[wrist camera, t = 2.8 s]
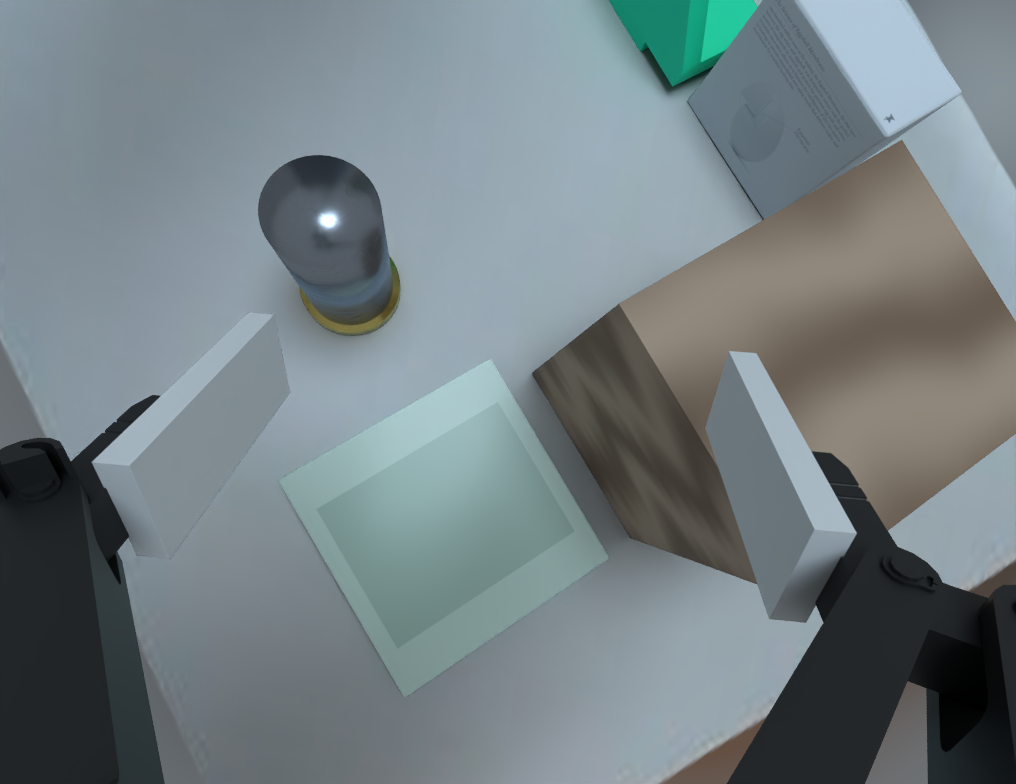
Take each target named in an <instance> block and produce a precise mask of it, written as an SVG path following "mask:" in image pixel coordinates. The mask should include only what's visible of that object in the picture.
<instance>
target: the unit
mask: <svg viewBox="0 0 1016 784" xmlns="http://www.w3.org/2000/svg"><path fill="white" fill-rule="evenodd" d="M729 351H735V352H748V353H757V355H758V357H759V359H760V361H761V362H762V364H763V366H764V368H765V370H766V371H767V373H768V375H769V377H770V379H771V380H772V382H773V384H774V386H775V388H776V389H777V391H778V393H779V395H780V396H781V398H782V400H783V402H784V404H785V405H786V407H787V409H788V411H789V413H790V414H791V416H792V418H793V420H794V422H795V423H796V425H797V427H798V429H799V431H800V432H801V434H802V436H803V438H804V439H805V441H806V443H807V445H808V447H809V448H810V450H811V451H815V452H826V453H832V454H833V455H834V456H835V457H836V458H837V459H839V460H840V461H841V462H842V463H843V464H844V465H846V466H847V467H848V468H849V469H850V471H851V473H852V474H853V476H854V477H855V479H856V481H857V482H858V484H859V488H861V489H862V490H863V492H864V494H865V495H866V497H867V501H869V502H870V503H871V505H872V506H873V508H874V510H875V511H876V513H877V515H878V516H879V518H880V519H881V521H882V523H883V524H884V526H885V527H886V529H887V531H888V530H889V529H891V528H892V527H893V526H895V525H896V524H897V523H899V522H900V521H901V520H902V519H904V518H905V517H906V516H908V515H909V514H910V513H912V512H913V511H914V510H916V509H917V508H918V507H920V506H921V505H922V504H924V503H925V502H926V501H927V500H929V499H930V498H931V497H933V496H934V495H935V494H937V493H938V492H939V491H941V490H942V489H943V488H945V487H946V486H947V485H949V484H950V483H951V482H953V481H954V480H955V479H956V478H958V477H959V476H960V475H962V474H963V473H964V472H966V471H967V470H968V469H970V468H971V467H972V466H974V465H975V464H976V463H978V462H979V461H980V460H982V459H983V458H984V457H985V456H987V455H988V454H989V453H991V452H992V451H993V450H995V449H996V448H997V447H999V446H1000V445H1001V444H1003V443H1004V442H1005V441H1007V440H1008V439H1009V438H1010V437H1012V436H1013V435H1014V434H1016V321H1015V320H1014V318H1013V317H1012V315H1011V314H1010V312H1009V310H1008V309H1007V307H1006V306H1005V304H1004V302H1003V301H1002V299H1001V298H1000V296H999V294H998V293H997V291H996V290H995V288H994V286H993V285H992V283H991V282H990V280H989V278H988V277H987V275H986V274H985V272H984V270H983V269H982V267H981V266H980V264H979V262H978V261H977V259H976V258H975V256H974V254H973V253H972V251H971V250H970V248H969V246H968V245H967V243H966V242H965V240H964V238H963V237H962V235H961V234H960V232H959V230H958V229H957V227H956V226H955V224H954V222H953V221H952V219H951V218H950V216H949V214H948V213H947V211H946V210H945V208H944V206H943V205H942V203H941V202H940V200H939V198H938V197H937V195H936V194H935V192H934V190H933V189H932V187H931V186H930V184H929V182H928V181H927V179H926V178H925V176H924V174H923V173H922V171H921V170H920V168H919V166H918V165H917V163H916V162H915V160H914V158H913V157H912V155H911V154H910V152H909V151H908V149H907V147H906V146H905V144H904V143H903V141H902V140H901V141H899V142H897V143H896V144H894V145H892V146H891V147H889V148H887V149H885V150H884V151H882V152H880V153H878V154H877V155H875V156H873V157H872V158H870V159H868V160H866V161H865V162H863V163H861V164H859V165H858V166H856V167H854V168H853V169H851V170H849V171H847V172H846V173H844V174H842V175H840V176H839V177H837V178H835V179H834V180H832V181H830V182H828V183H827V184H825V185H823V186H821V187H820V188H818V189H816V190H815V191H813V192H811V193H809V194H808V195H806V196H804V197H802V198H801V199H799V200H797V201H796V202H794V203H792V204H790V205H789V206H787V207H785V208H783V209H782V210H780V211H778V212H777V213H775V214H773V215H771V216H770V217H768V218H766V219H764V220H763V221H761V222H759V223H758V224H756V225H754V226H752V227H751V228H749V229H747V230H745V231H744V232H742V233H740V234H739V235H737V236H735V237H733V238H732V239H730V240H728V241H727V242H725V243H723V244H721V245H720V246H718V247H716V248H714V249H713V250H711V251H709V252H708V253H706V254H704V255H702V256H701V257H699V258H697V259H695V260H694V261H692V262H690V263H689V264H687V265H685V266H683V267H682V268H680V269H678V270H676V271H675V272H673V273H671V274H670V275H668V276H666V277H664V278H663V279H661V280H659V281H657V282H656V283H654V284H652V285H651V286H649V287H647V288H645V289H644V290H642V291H640V292H638V293H637V294H635V295H633V296H632V297H630V298H628V299H626V300H625V301H623V302H621V303H619V304H618V305H617V306H616V307H614V308H613V309H612V310H611V311H609V312H608V313H607V314H606V315H604V316H603V317H602V318H600V319H599V320H598V321H597V322H595V323H594V324H593V325H592V326H590V327H589V328H588V329H587V330H585V331H584V332H583V333H582V334H580V335H579V336H578V337H577V338H575V339H574V340H573V341H572V342H570V343H569V344H568V345H567V346H565V347H564V348H563V349H562V350H560V351H559V352H558V353H556V354H555V355H554V356H553V357H551V358H550V359H549V360H548V361H546V362H545V363H544V364H543V365H541V366H540V367H539V368H538V369H536V370H535V371H534V372H533V373H532V374H533V376H534V377H535V379H536V381H537V382H538V384H539V386H540V387H541V389H542V391H543V392H544V394H545V396H546V397H547V399H548V401H549V402H550V404H551V406H552V407H553V409H554V411H555V413H556V414H557V416H558V418H559V419H560V421H561V423H562V424H563V426H564V428H565V429H566V431H567V433H568V434H569V436H570V438H571V439H572V441H573V443H574V444H575V446H576V448H577V449H578V451H579V453H580V454H581V456H582V458H583V459H584V461H585V463H586V464H587V466H588V468H589V469H590V471H591V473H592V474H593V476H594V478H595V479H596V481H597V483H598V484H599V486H600V488H601V489H602V491H603V493H604V495H605V496H606V498H607V500H608V501H609V503H610V505H611V506H612V508H613V510H614V511H615V513H616V515H617V516H618V518H619V520H620V521H621V523H622V525H623V526H624V528H625V530H626V531H627V533H628V535H629V536H630V538H632V539H635V540H638V541H641V542H643V543H646V544H649V545H652V546H654V547H657V548H660V549H662V550H665V551H668V552H671V553H673V554H676V555H679V556H682V557H684V558H687V559H690V560H692V561H695V562H698V563H701V564H703V565H706V566H709V567H711V568H714V569H717V570H720V571H722V572H725V573H728V574H731V575H733V576H736V577H739V578H741V579H744V580H747V581H750V582H752V583H755V584H757V581H756V578H755V575H754V572H753V569H752V566H751V563H750V560H749V557H748V554H747V551H746V548H745V545H744V542H743V539H742V536H741V533H740V530H739V527H738V525H737V522H736V519H735V516H734V513H733V510H732V507H731V504H730V501H729V498H728V495H727V492H726V489H725V486H724V483H723V480H722V477H721V474H720V471H719V468H718V465H717V462H716V459H715V456H714V453H713V450H712V447H711V444H710V441H709V438H708V435H707V432H706V429H705V427H706V424H707V421H708V417H709V414H710V411H711V408H712V404H713V401H714V398H715V395H716V391H717V388H718V385H719V381H720V378H721V375H722V372H723V368H724V365H725V362H726V358H727V355H728V352H729Z"/></svg>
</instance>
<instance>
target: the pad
mask: <svg viewBox="0 0 1016 784" xmlns="http://www.w3.org/2000/svg"><path fill="white" fill-rule="evenodd" d="M278 481H279V483H280V485H281V486H282V488H283V490H284V492H285V493H286V495H287V497H288V498H289V500H290V502H291V504H292V505H293V507H294V509H295V510H296V512H297V514H298V516H299V517H300V519H301V521H302V523H303V524H304V526H305V528H306V529H307V531H308V533H309V535H310V536H311V538H312V540H313V542H314V543H315V545H316V547H317V548H318V550H319V552H320V554H321V555H322V557H323V559H324V560H325V562H326V564H327V566H328V567H329V569H330V571H331V573H332V574H333V576H334V578H335V579H336V581H337V583H338V585H339V586H340V588H341V590H342V591H343V593H344V595H345V597H346V598H347V600H348V602H349V604H350V605H351V607H352V609H353V610H354V612H355V614H356V616H357V617H358V619H359V621H360V622H361V624H362V626H363V628H364V629H365V631H366V633H367V635H368V636H369V638H370V640H371V641H372V643H373V645H374V647H375V648H376V650H377V652H378V654H379V655H380V657H381V659H382V660H383V662H384V664H385V666H386V667H387V669H388V671H389V672H390V674H391V676H392V678H393V679H394V681H395V683H396V685H397V686H398V688H399V690H400V691H401V693H402V695H403V697H404V698H405V697H407V696H408V695H410V694H411V693H413V692H414V691H416V690H417V689H419V688H420V687H422V686H423V685H424V684H426V683H427V682H429V681H430V680H432V679H433V678H435V677H436V676H438V675H439V674H441V673H442V672H444V671H445V670H446V669H448V668H449V667H451V666H452V665H454V664H455V663H457V662H458V661H460V660H461V659H463V658H464V657H465V656H467V655H468V654H470V653H471V652H473V651H474V650H476V649H477V648H479V647H480V646H482V645H483V644H485V643H486V642H487V641H489V640H490V639H492V638H493V637H495V636H496V635H498V634H499V633H501V632H502V631H504V630H505V629H506V628H508V627H509V626H511V625H512V624H514V623H515V622H517V621H518V620H520V619H521V618H523V617H524V616H526V615H527V614H528V613H530V612H531V611H533V610H534V609H536V608H537V607H539V606H540V605H542V604H543V603H545V602H546V601H548V600H549V599H550V598H552V597H553V596H555V595H556V594H558V593H559V592H561V591H562V590H564V589H565V588H567V587H568V586H569V585H571V584H572V583H574V582H575V581H577V580H578V579H580V578H581V577H583V576H584V575H586V574H587V573H589V572H590V571H591V570H593V569H594V568H596V567H597V566H599V565H600V564H602V563H603V562H605V561H606V560H608V559H609V556H608V555H607V553H606V551H605V550H604V548H603V546H602V545H601V543H600V541H599V540H598V538H597V536H596V534H595V533H594V531H593V529H592V528H591V526H590V524H589V523H588V521H587V519H586V518H585V516H584V514H583V513H582V511H581V509H580V508H579V506H578V504H577V503H576V501H575V499H574V498H573V496H572V494H571V493H570V491H569V489H568V488H567V486H566V484H565V482H564V481H563V479H562V477H561V476H560V474H559V472H558V471H557V469H556V467H555V466H554V464H553V462H552V461H551V459H550V457H549V456H548V454H547V452H546V451H545V449H544V447H543V446H542V444H541V442H540V441H539V439H538V437H537V435H536V434H535V432H534V430H533V429H532V427H531V425H530V424H529V422H528V420H527V419H526V417H525V415H524V414H523V412H522V410H521V409H520V407H519V405H518V404H517V402H516V400H515V399H514V397H513V395H512V394H511V392H510V390H509V388H508V387H507V385H506V383H505V382H504V380H503V378H502V377H501V375H500V373H499V372H498V370H497V368H496V367H495V365H494V363H493V362H492V360H491V359H489V360H487V361H485V362H484V363H482V364H480V365H478V366H477V367H475V368H473V369H471V370H470V371H468V372H466V373H464V374H463V375H461V376H459V377H457V378H456V379H454V380H452V381H450V382H449V383H447V384H445V385H443V386H442V387H440V388H438V389H436V390H435V391H433V392H431V393H429V394H428V395H426V396H424V397H422V398H421V399H419V400H417V401H415V402H414V403H412V404H410V405H408V406H407V407H405V408H403V409H401V410H400V411H398V412H396V413H394V414H393V415H391V416H389V417H387V418H386V419H384V420H382V421H380V422H379V423H377V424H375V425H373V426H372V427H370V428H368V429H366V430H365V431H363V432H361V433H359V434H358V435H356V436H354V437H352V438H351V439H349V440H347V441H345V442H344V443H342V444H340V445H338V446H337V447H335V448H333V449H331V450H330V451H328V452H326V453H324V454H323V455H321V456H319V457H317V458H316V459H314V460H312V461H310V462H309V463H307V464H305V465H303V466H302V467H300V468H298V469H296V470H295V471H293V472H291V473H289V474H288V475H286V476H284V477H282V478H281V479H279V480H278Z"/></svg>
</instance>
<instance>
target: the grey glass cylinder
mask: <svg viewBox="0 0 1016 784" xmlns="http://www.w3.org/2000/svg"><path fill="white" fill-rule="evenodd" d="M258 215H259V221H260V225H261V228H262V231H263V233H264V235H265V237H266V239H267V240H268V242H269V243H270V245H271V246H272V247H273V249H274V250H275V252H276V253H277V255H278V256H279V257H280V259H281V260H282V262H283V263H284V265H285V266H286V268H287V269H288V270H289V272H290V273H291V275H292V276H293V278H294V279H295V280H296V282H297V283H298V285H299V286H300V293H301V297H302V300H303V303H304V305H305V307H306V308H307V310H308V311H309V313H310V314H311V315H312V317H313V318H314V319H315V320H316V321H317V322H318V323H319V324H320V325H322V326H323V327H325V328H326V329H328V330H330V331H332V332H335V333H338V334H342V335H350V336H355V335H363V334H367V333H370V332H372V331H375V330H377V329H378V328H380V327H381V326H383V325H384V324H385V323H386V322H387V321H388V320H389V319H390V318H391V317H392V315H393V314H394V312H395V310H396V308H397V306H398V303H399V299H400V291H401V290H400V279H399V275H398V271H397V268H396V266H395V264H394V262H393V261H392V259H391V258H390V256H389V253H388V247H387V241H386V234H385V228H384V222H383V215H382V209H381V204H380V199H379V196H378V193H377V191H376V189H375V187H374V185H373V184H372V183H371V181H370V180H369V179H368V177H367V176H366V175H365V174H364V173H363V172H362V171H360V170H359V169H358V168H357V167H355V166H354V165H352V164H350V163H348V162H346V161H344V160H341V159H339V158H335V157H331V156H324V155H313V156H305V157H301V158H298V159H295V160H292V161H290V162H288V163H286V164H285V165H283V166H282V167H280V168H279V169H278V170H277V171H276V172H274V173H273V174H272V176H271V177H270V178H269V179H268V181H267V182H266V184H265V186H264V188H263V190H262V192H261V195H260V199H259V206H258Z"/></svg>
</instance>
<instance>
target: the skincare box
mask: <svg viewBox="0 0 1016 784" xmlns="http://www.w3.org/2000/svg"><path fill="white" fill-rule="evenodd" d="M960 94H961V90H960V88H959V87H958V85H957V84H956V82H955V81H954V79H953V78H952V76H951V75H950V73H949V72H948V71H947V69H946V68H945V66H944V65H943V63H942V62H941V60H940V59H939V57H938V56H937V54H936V53H935V51H934V50H933V48H932V46H931V45H930V43H929V42H928V41H927V39H926V38H925V36H924V34H923V33H922V31H921V30H920V28H919V27H918V25H917V24H916V22H915V21H914V19H913V18H912V17H911V15H910V14H909V12H908V11H907V9H906V7H905V6H904V4H903V3H902V1H901V0H763V1H762V2H761V3H760V5H759V6H758V7H757V9H756V10H755V12H754V13H753V14H752V16H751V17H750V18H749V20H748V21H747V22H746V24H745V25H744V27H743V28H742V29H741V31H740V32H739V33H738V35H737V36H736V37H735V39H734V40H733V41H732V43H731V44H730V45H729V47H728V48H727V50H726V51H725V52H724V54H723V55H722V56H721V58H720V59H719V60H718V62H717V63H716V64H715V66H714V67H713V68H712V70H711V71H710V73H709V74H708V75H707V77H706V78H705V79H704V81H703V82H702V83H701V85H700V86H699V87H698V88H697V89H696V90H695V91H694V92H693V94H692V95H691V96H690V98H689V100H688V103H689V104H690V106H691V108H692V109H693V111H694V112H695V114H696V115H697V117H698V119H699V120H700V122H701V123H702V125H703V126H704V128H705V129H706V131H707V132H708V134H709V135H710V137H711V138H712V140H713V142H714V143H715V145H716V146H717V148H718V149H719V151H720V153H721V154H722V156H723V157H724V159H725V160H726V162H727V163H728V165H729V166H730V168H731V170H732V171H733V173H734V174H735V176H736V177H737V179H738V180H739V182H740V183H741V185H742V186H743V188H744V189H745V191H746V192H747V194H748V195H749V197H750V199H751V200H752V202H753V203H754V205H755V206H756V208H757V209H758V211H759V213H760V214H761V216H762V217H763V219H766V218H768V217H770V216H771V215H773V214H775V213H777V212H778V211H780V210H782V209H783V208H785V207H787V206H789V205H790V204H792V203H794V202H796V201H797V200H799V199H801V198H802V197H804V196H806V195H808V194H809V193H811V192H813V191H815V190H816V189H818V188H820V187H821V186H823V185H825V184H827V183H828V182H830V181H832V180H834V179H835V178H837V177H839V176H840V175H842V174H844V173H846V172H847V171H849V170H851V169H853V168H854V167H856V166H857V165H858V164H860V163H861V162H863V161H864V160H866V159H867V158H869V157H870V156H872V155H873V154H875V153H876V152H878V151H879V150H881V149H882V148H883V147H885V146H886V145H888V144H889V143H891V142H892V141H894V140H895V139H896V138H898V137H899V136H901V135H902V134H904V133H905V132H907V131H908V130H909V129H911V128H912V127H914V126H915V125H917V124H918V123H920V122H921V121H922V120H924V119H925V118H927V117H928V116H930V115H931V114H932V113H934V112H935V111H937V110H938V109H940V108H941V107H943V106H944V105H945V104H947V103H948V102H950V101H951V100H953V99H954V98H956V97H957V96H958V95H960Z"/></svg>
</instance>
